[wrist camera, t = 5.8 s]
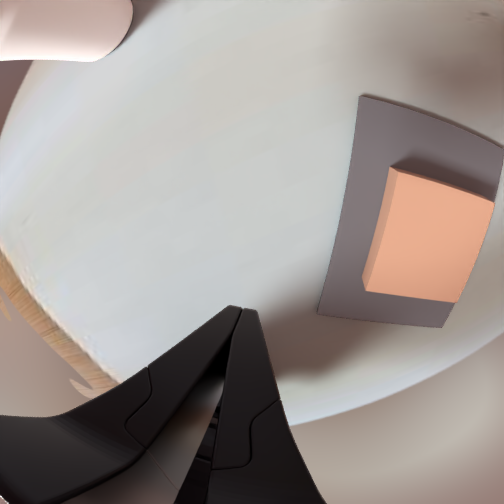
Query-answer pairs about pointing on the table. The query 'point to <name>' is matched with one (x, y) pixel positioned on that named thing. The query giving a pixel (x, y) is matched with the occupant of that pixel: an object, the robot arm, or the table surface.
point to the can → (62, 28)
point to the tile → (425, 238)
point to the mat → (371, 196)
